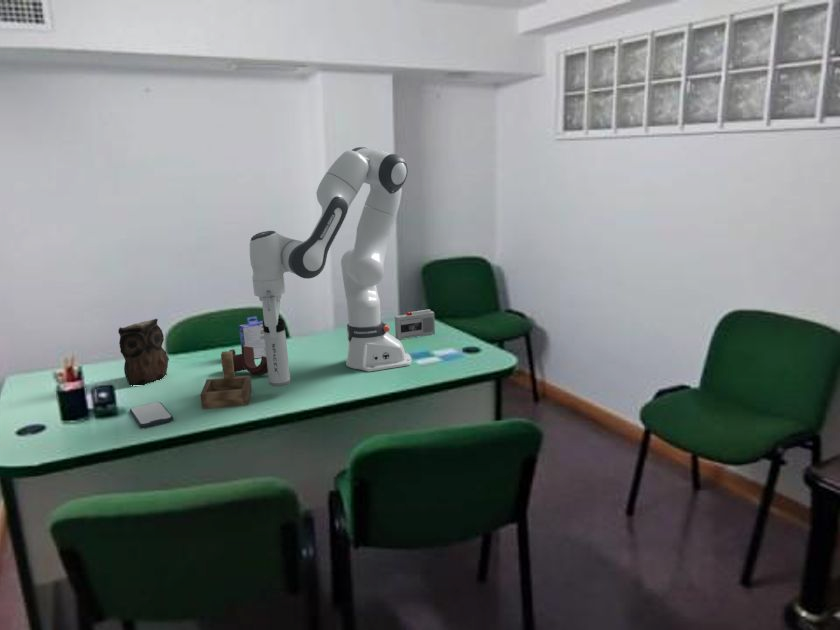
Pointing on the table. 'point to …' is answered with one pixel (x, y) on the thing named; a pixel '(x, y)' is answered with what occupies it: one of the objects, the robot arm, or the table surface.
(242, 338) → the ink cartridge box
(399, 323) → the cassette player
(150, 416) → the phone case
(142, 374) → the owl
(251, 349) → the bracket
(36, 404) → the table surface
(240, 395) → the wooden caddy
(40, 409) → the table surface
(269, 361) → the travel mug
